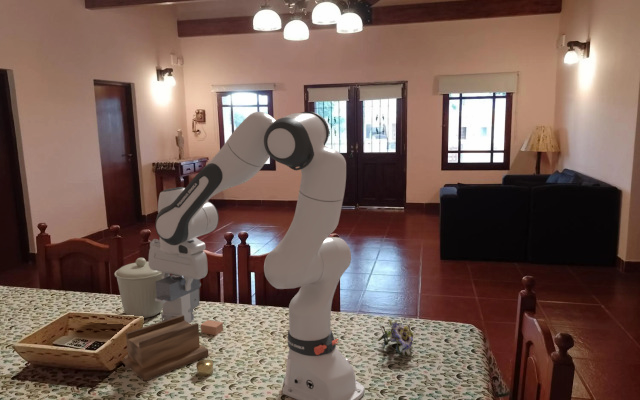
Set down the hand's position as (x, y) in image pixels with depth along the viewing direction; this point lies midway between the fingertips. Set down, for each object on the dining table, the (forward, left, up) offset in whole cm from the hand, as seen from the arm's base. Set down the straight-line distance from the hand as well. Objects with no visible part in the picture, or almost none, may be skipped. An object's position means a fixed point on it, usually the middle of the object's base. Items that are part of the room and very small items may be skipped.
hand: (178, 288), depth 141 cm
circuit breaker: (+24, -13, -22) cm, 35 cm away
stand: (+2, +5, -21) cm, 22 cm away
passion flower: (-44, -47, -22) cm, 68 cm away
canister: (+39, -6, -22) cm, 45 cm away
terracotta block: (+8, -15, -22) cm, 28 cm away
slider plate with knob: (0, 0, -2) cm, 2 cm away
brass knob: (-14, +1, -21) cm, 26 cm away
